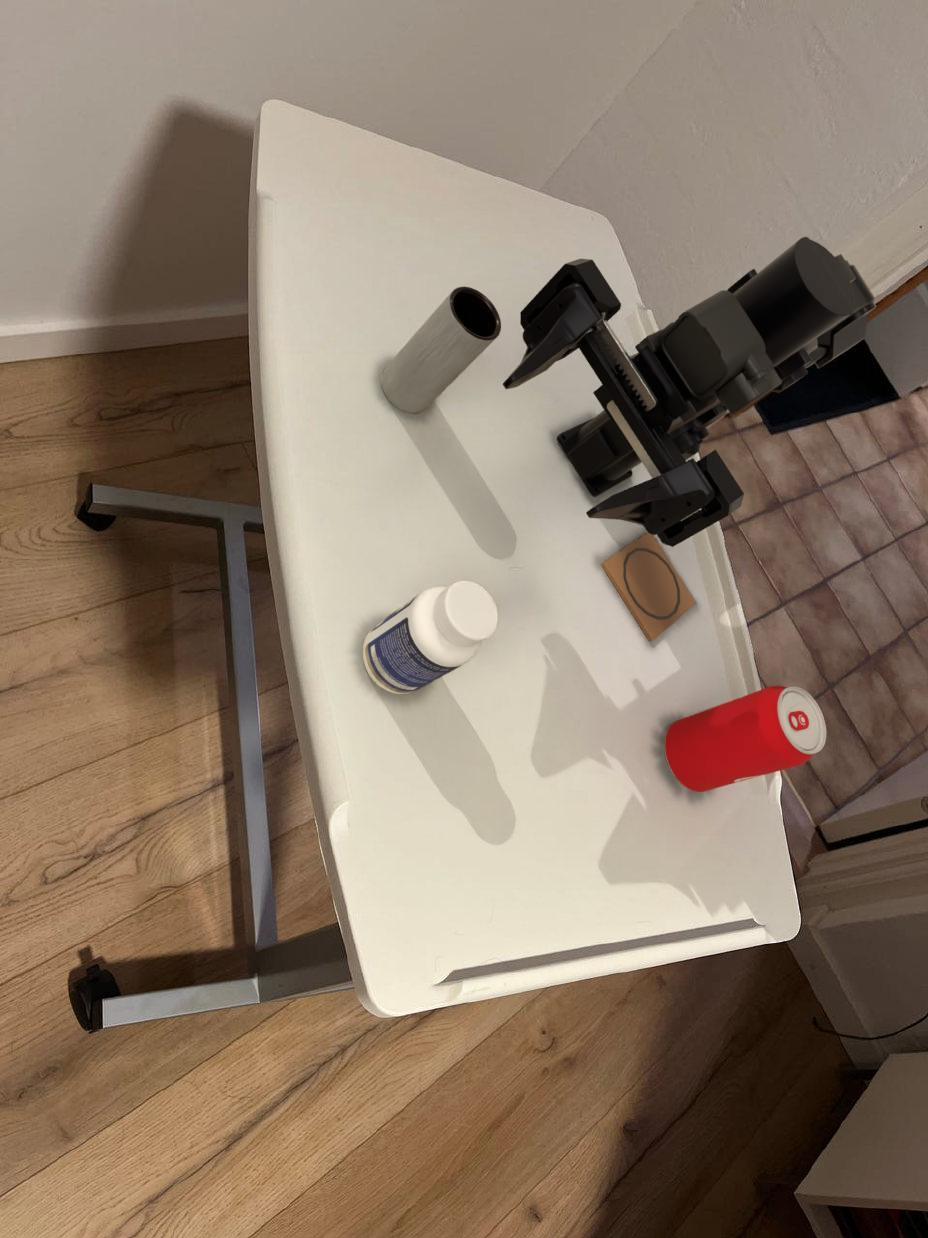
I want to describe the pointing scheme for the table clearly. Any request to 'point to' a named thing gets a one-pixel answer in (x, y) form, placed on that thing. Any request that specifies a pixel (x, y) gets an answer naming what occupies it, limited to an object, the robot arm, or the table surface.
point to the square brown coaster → (649, 585)
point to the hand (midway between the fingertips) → (549, 447)
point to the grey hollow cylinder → (441, 350)
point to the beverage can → (745, 738)
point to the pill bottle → (429, 636)
